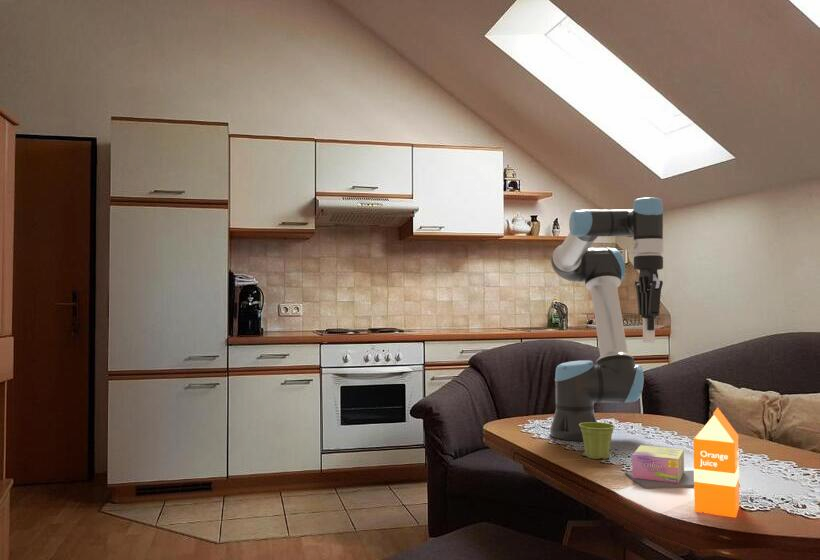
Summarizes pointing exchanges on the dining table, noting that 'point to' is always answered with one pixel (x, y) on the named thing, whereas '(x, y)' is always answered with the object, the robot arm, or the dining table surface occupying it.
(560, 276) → the robot arm
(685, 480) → the mat
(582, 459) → the dining table surface
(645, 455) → the box
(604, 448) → the plant pot
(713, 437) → the orange juice
